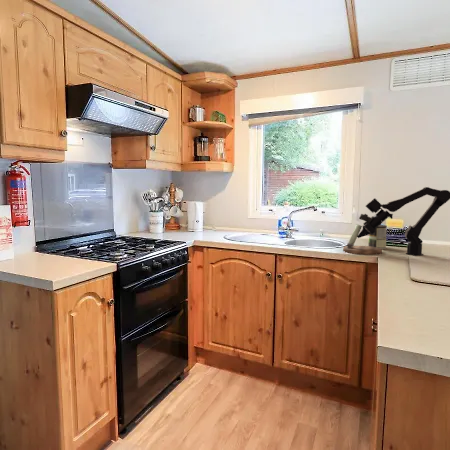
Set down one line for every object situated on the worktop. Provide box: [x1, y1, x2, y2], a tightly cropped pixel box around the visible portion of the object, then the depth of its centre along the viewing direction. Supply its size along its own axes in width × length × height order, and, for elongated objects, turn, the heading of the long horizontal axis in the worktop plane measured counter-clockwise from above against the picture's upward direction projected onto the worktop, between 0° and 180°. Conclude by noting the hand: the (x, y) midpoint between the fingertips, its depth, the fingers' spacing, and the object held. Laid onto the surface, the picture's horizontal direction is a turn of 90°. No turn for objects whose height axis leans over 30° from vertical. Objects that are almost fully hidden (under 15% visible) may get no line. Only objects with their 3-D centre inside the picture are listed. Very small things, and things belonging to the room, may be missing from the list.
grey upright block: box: [367, 224, 388, 250], centre depth 210 cm, size 10×10×14 cm
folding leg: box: [347, 224, 363, 247], centre depth 197 cm, size 3×3×13 cm
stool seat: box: [342, 243, 383, 256], centre depth 196 cm, size 21×21×4 cm
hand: (357, 237), depth 196 cm, fingers closed, pressing on folding leg
